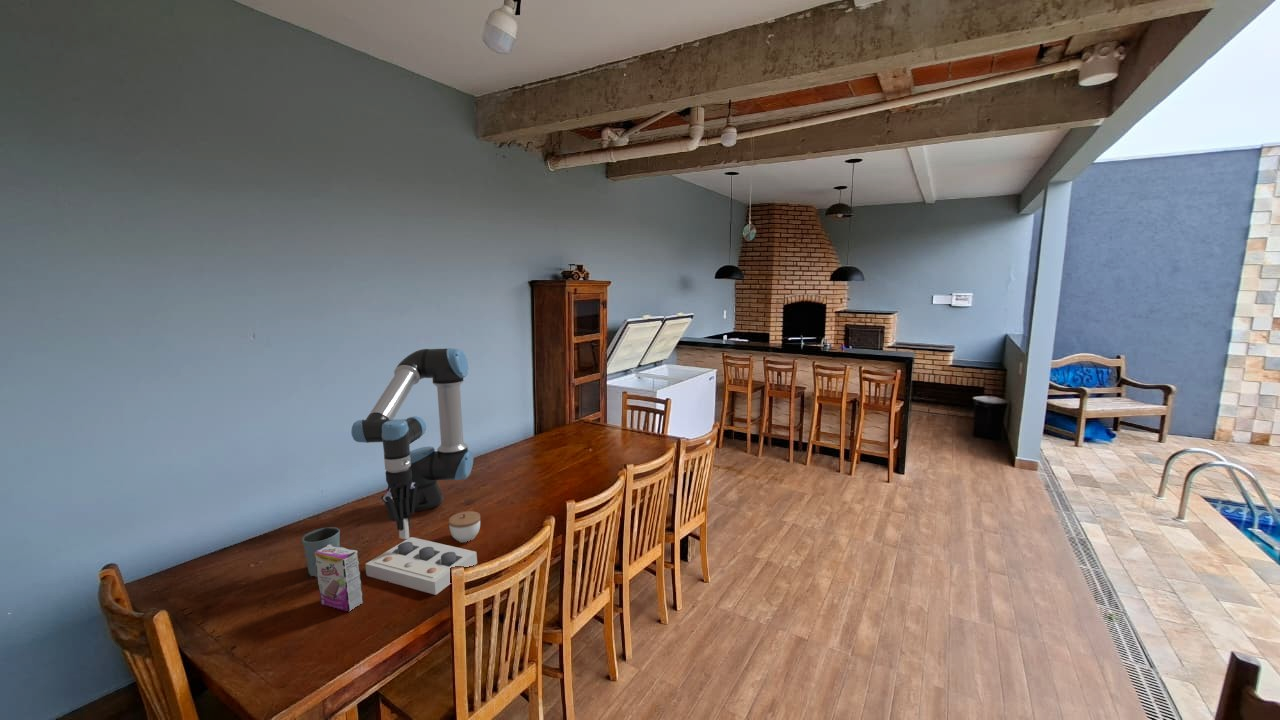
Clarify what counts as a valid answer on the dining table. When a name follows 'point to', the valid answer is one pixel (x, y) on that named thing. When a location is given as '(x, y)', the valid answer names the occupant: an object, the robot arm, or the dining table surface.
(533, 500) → the dining table surface
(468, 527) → the lidded jar
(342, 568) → the candy bar box
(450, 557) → the button
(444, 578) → the button board
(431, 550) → the button
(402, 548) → the button
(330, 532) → the grey plant pot
